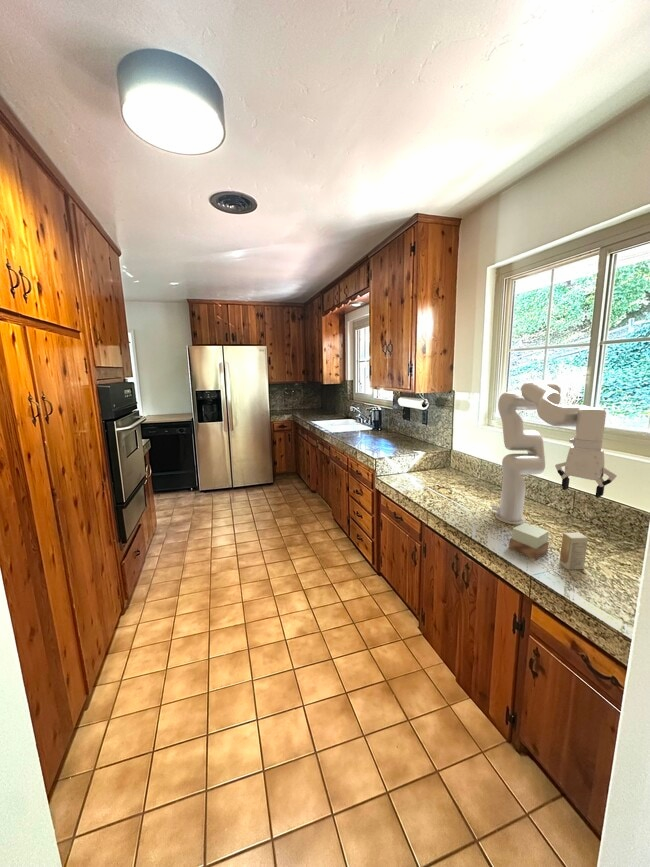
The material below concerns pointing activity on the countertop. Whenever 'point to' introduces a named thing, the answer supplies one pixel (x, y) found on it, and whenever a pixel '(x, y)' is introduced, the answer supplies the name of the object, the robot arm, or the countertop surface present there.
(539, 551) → the tower bottom
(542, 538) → the tower top
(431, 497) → the countertop surface
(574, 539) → the skincare box
